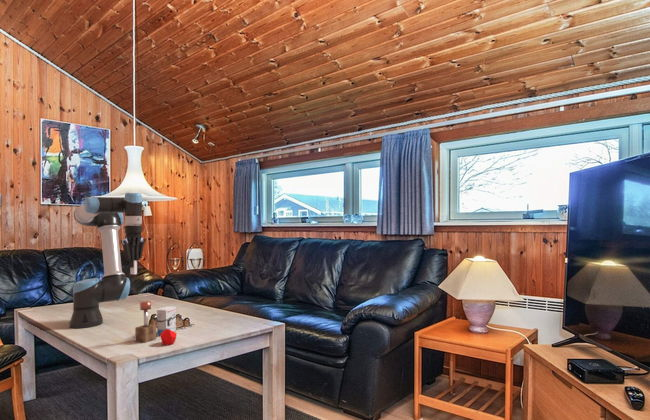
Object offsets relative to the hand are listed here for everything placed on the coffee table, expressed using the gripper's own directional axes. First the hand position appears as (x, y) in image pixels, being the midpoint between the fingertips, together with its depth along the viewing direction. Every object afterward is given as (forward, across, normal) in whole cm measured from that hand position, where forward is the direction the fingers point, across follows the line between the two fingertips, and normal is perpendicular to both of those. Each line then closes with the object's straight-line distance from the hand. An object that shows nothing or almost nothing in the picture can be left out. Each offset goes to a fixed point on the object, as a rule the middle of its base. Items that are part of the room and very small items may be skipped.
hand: (133, 274), depth 199 cm
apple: (+27, -9, -31) cm, 42 cm away
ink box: (+28, +4, -17) cm, 33 cm away
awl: (+25, -9, -17) cm, 32 cm away
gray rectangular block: (+28, +16, -17) cm, 36 cm away
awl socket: (+27, -8, -17) cm, 33 cm away
